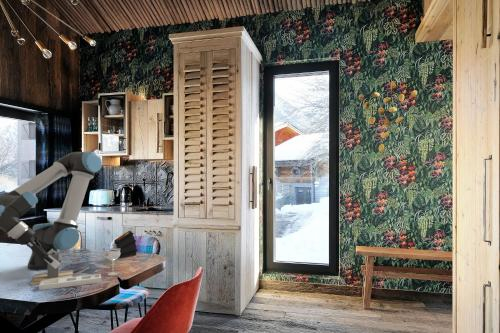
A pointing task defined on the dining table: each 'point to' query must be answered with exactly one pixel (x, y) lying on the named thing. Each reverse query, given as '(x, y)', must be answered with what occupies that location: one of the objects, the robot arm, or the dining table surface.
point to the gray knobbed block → (51, 270)
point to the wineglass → (113, 257)
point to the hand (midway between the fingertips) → (59, 262)
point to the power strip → (69, 281)
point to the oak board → (43, 276)
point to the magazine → (126, 244)
